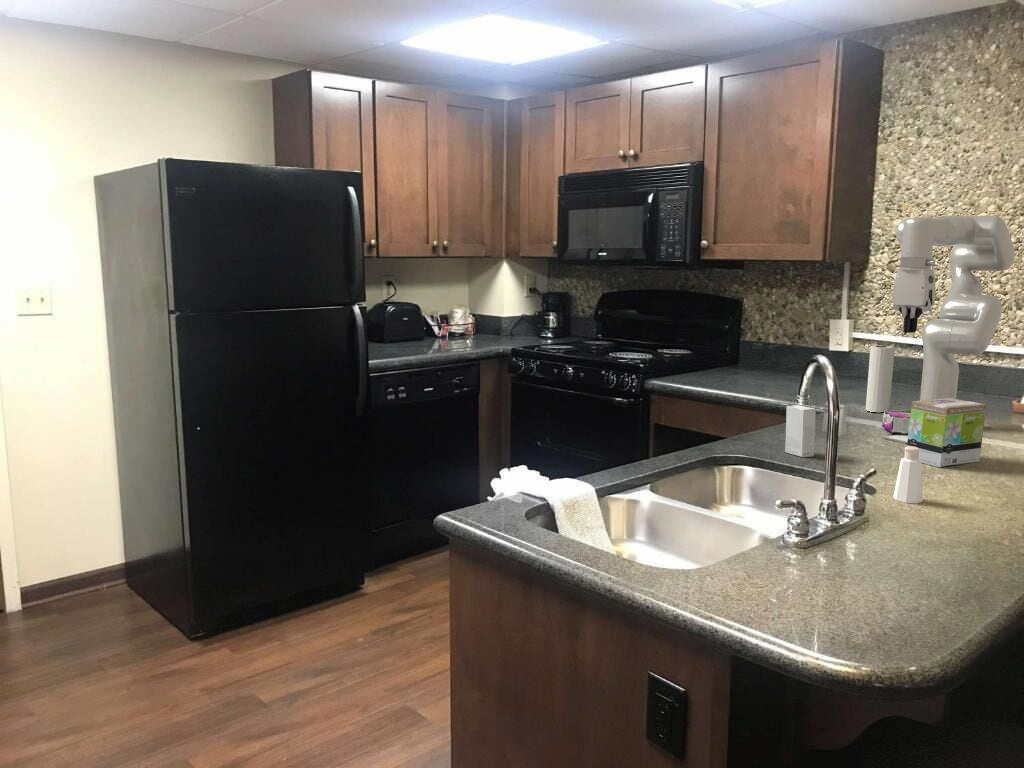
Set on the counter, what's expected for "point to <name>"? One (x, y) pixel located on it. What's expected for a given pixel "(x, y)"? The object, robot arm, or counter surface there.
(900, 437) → the mat
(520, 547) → the counter surface
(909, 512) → the counter surface
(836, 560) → the counter surface
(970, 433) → the tea box
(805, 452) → the skincare box
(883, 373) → the paper towel roll
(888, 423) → the candy bar box
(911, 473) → the pepper shaker
